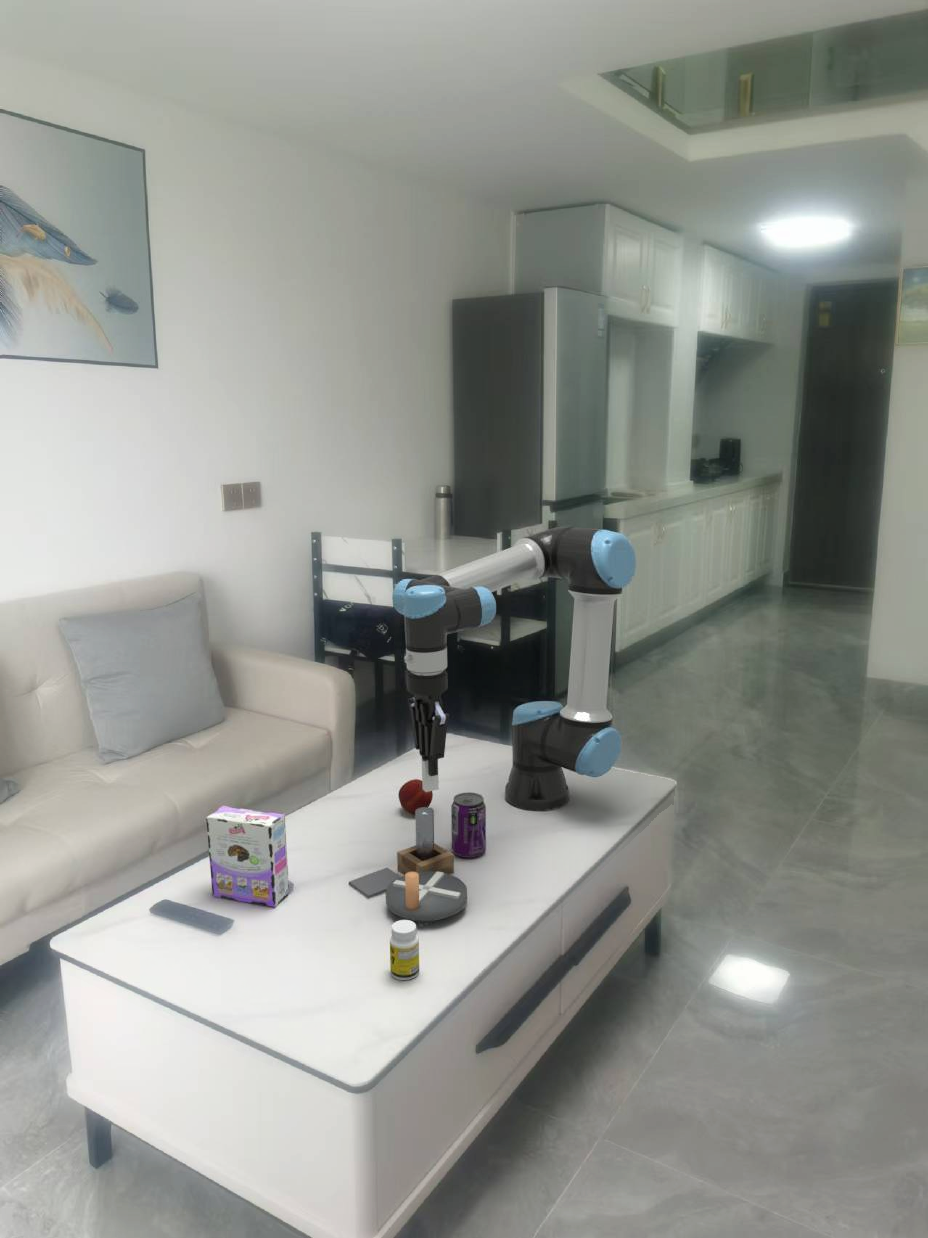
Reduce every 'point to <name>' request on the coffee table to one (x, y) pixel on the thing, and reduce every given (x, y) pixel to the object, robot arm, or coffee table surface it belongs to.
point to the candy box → (248, 855)
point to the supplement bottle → (404, 950)
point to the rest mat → (374, 882)
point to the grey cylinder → (424, 833)
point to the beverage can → (468, 825)
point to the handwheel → (426, 895)
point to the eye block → (439, 862)
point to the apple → (414, 796)
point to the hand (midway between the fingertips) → (430, 789)
